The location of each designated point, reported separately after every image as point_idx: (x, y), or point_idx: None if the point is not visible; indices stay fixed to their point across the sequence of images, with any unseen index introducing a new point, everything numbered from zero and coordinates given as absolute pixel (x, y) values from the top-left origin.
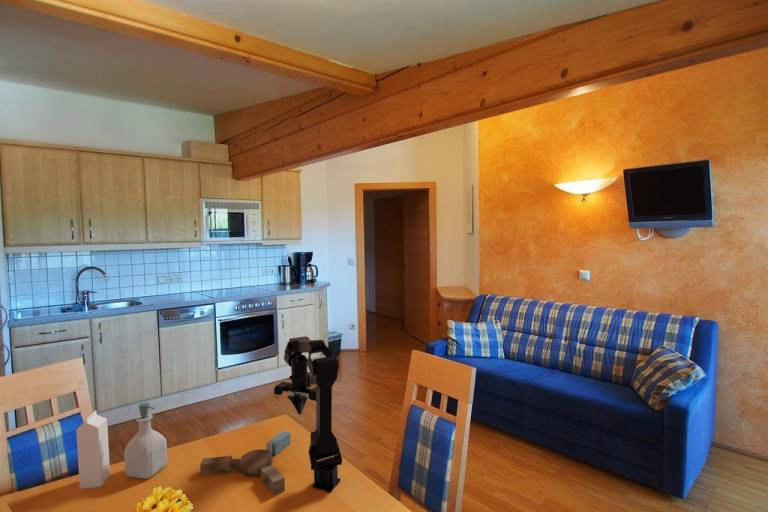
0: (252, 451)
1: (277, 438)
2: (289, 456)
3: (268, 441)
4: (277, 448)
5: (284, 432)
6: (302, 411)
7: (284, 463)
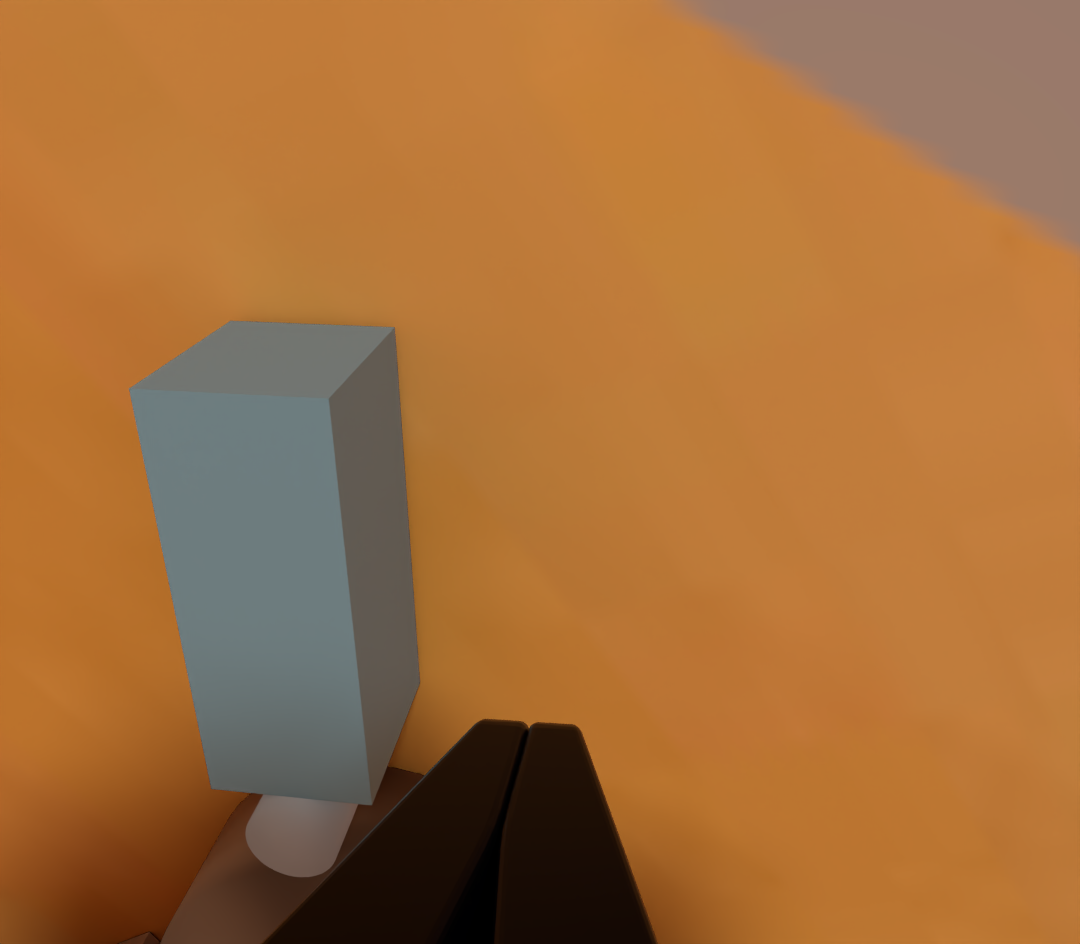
0: (192, 927)
1: (265, 648)
2: (610, 632)
3: (207, 759)
4: (395, 694)
5: (218, 435)
6: (600, 793)
7: (642, 772)
